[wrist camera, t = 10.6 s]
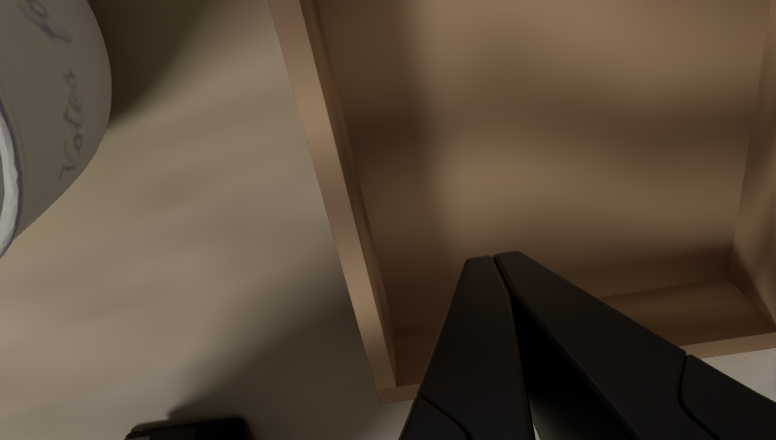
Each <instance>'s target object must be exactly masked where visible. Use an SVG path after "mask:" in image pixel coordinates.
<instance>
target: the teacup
mask: <svg viewBox="0 0 776 440" xmlns="http://www.w3.org/2000/svg"><path fill="white" fill-rule="evenodd" d="M111 97H112V77H111V69H110V63H109V57H108V53H107V50H106V46H105V42H104V39H103V36H102V33H101V30H100V27H99V25H98V23H97V20H96V18H95V15H94V13H93V11H92V9H91V7H90V5H89V3H88V1H87V0H0V258H1V257H2V256H3V255H4V254H5V252H6V251H7V249H8V248H9V246H10V245H11V243H12V241H13V240H14V239H15V238H16V237H17V236H18V235H19V234H21V233H22V232H23V231H24V230H25V229H26V228H27V227H28V226H30V225H31V224H32V223H33V222H34V221H35V220H36V219H37V218H38V217H39V216H40V215H41V214H42V213H43V212H45V211H46V210H47V209H48V208H49V207H50V206H51V205H52V204H53V203H54V202H55V201H56V200H57V199H58V198H59V197H60V196H61V195H62V194H63V193H64V192H65V191H66V190H67V189H68V187H69V186H70V185H71V184H72V183H73V182H74V181H75V180H76V179H77V178H78V177H79V175H80V174H81V173H82V172H83V171H84V169H85V168H86V166H87V165H88V164H89V162H90V161H91V159H92V158H93V156H94V155H95V153H96V151H97V149H98V147H99V145H100V142H101V140H102V138H103V135H104V133H105V130H106V127H107V124H108V120H109V115H110V110H111Z"/></svg>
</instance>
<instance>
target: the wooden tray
mask: <svg viewBox="0 0 776 440" xmlns="http://www.w3.org/2000/svg"><path fill="white" fill-rule="evenodd" d="M268 3H269V6H270V10H271V14H272V17H273V21H274V24H275V28H276V32H277V35H278V39H279V42H280V46H281V50H282V53H283V57H284V60H285V64H286V68H287V71H288V75H289V78H290V82H291V86H292V89H293V93H294V96H295V100H296V104H297V107H298V111H299V114H300V118H301V122H302V125H303V129H304V132H305V136H306V140H307V143H308V147H309V150H310V154H311V157H312V161H313V165H314V168H315V172H316V175H317V179H318V183H319V186H320V190H321V193H322V197H323V201H324V204H325V208H326V211H327V215H328V219H329V222H330V226H331V229H332V233H333V237H334V240H335V244H336V247H337V251H338V255H339V258H340V262H341V265H342V269H343V273H344V276H345V280H346V283H347V287H348V291H349V294H350V298H351V301H352V305H353V309H354V312H355V316H356V319H357V323H358V327H359V330H360V334H361V337H362V341H363V345H364V348H365V352H366V355H367V359H368V363H369V366H370V370H371V373H372V377H373V381H374V384H375V388H376V391H377V395H378V399H379V402H380V404H384V403H391V402H398V401H405V400H412V399H414V398H415V397H416V396H417V391H418V388H419V385H420V383H421V380H422V377H423V375H424V372H425V369H426V366H427V364H428V361H429V358H430V356H431V353H432V350H433V347H434V345H435V342H436V339H437V337H438V334H439V331H440V328H441V326H442V323H443V320H444V318H445V315H446V312H447V309H448V307H449V304H450V301H451V299H452V296H453V293H454V290H455V288H456V285H457V282H458V280H459V277H460V274H461V271H462V269H463V266H464V263H465V261H466V260H467V259H468V258H473V257H479V256H485V255H490V256H492V257H493V256H494V255H495V254H497V253H502V252H508V251H514V250H518V251H521V252H522V253H524V254H526V255H527V256H529V257H531V258H532V259H534V260H536V261H537V262H539V263H541V264H542V265H544V266H546V267H547V268H549V269H551V270H552V271H554V272H556V273H557V274H559V275H561V276H562V277H564V278H566V279H567V280H569V281H570V282H572V283H574V284H575V285H577V286H579V287H580V288H582V289H584V290H585V291H587V292H589V293H590V294H592V295H594V296H595V297H597V298H599V299H600V300H602V301H604V302H605V303H607V304H609V305H610V306H612V307H614V308H615V309H617V310H619V311H620V312H622V313H624V314H625V315H627V316H629V317H630V318H632V319H634V320H635V321H637V322H639V323H640V324H642V325H643V326H645V327H647V328H648V329H650V330H652V331H653V332H655V333H657V334H658V335H660V336H662V337H663V338H665V339H667V340H668V341H670V342H672V343H673V344H675V345H677V346H678V347H680V348H682V349H683V350H685V351H686V352H687V355H689V354H692V355H694V356H695V357H697V358H699V359H701V358H708V357H715V356H722V355H729V354H736V353H743V352H750V351H757V350H764V349H771V348H776V0H268Z"/></svg>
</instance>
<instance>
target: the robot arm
mask: <svg viewBox="0 0 776 440" xmlns="http://www.w3.org/2000/svg"><path fill="white" fill-rule="evenodd" d="M533 424H534V426H535V428H536V431H537V433H538V436H539V438H540V440H776V402H774V401H772V400H770V399H769V398H767V397H765V396H763V395H761V394H759V393H757V392H755V391H754V390H752V389H750V388H748V387H747V386H745V385H743V384H741V383H740V382H738V381H736V380H734V379H733V378H731V377H729V376H727V375H726V374H724V373H722V372H720V371H719V370H717V369H715V368H714V367H712V366H710V365H709V364H707V363H705V362H704V361H702V360H700V359H699V358H697V357H695V356H694V355H692V354H689V355H687V352H686V351H685V350H683V349H682V348H680V347H678V346H677V345H675V344H673V343H672V342H670V341H668V340H667V339H665V338H663V337H662V336H660V335H658V334H657V333H655V332H653V331H652V330H650V329H648V328H647V327H645V326H643V325H642V324H640V323H639V322H637V321H635V320H634V319H632V318H630V317H629V316H627V315H625V314H624V313H622V312H620V311H619V310H617V309H615V308H614V307H612V306H610V305H609V304H607V303H605V302H604V301H602V300H600V299H599V298H597V297H595V296H594V295H592V294H590V293H589V292H587V291H585V290H584V289H582V288H580V287H579V286H577V285H575V284H574V283H572V282H570V281H569V280H567V279H566V278H564V277H562V276H561V275H559V274H557V273H556V272H554V271H552V270H551V269H549V268H547V267H546V266H544V265H542V264H541V263H539V262H537V261H536V260H534V259H532V258H531V257H529V256H527V255H526V254H524V253H522V252H521V251H518V250H514V251H508V252H502V253H497V254H495V255H494V256H493V257H492V256H490V255H485V256H479V257H473V258H468V259H467V260H466V261H465V263H464V266H463V269H462V271H461V274H460V277H459V280H458V282H457V285H456V288H455V290H454V293H453V296H452V299H451V301H450V304H449V307H448V309H447V312H446V315H445V318H444V320H443V323H442V326H441V328H440V331H439V334H438V337H437V339H436V342H435V345H434V347H433V350H432V353H431V356H430V358H429V361H428V364H427V366H426V369H425V372H424V375H423V377H422V380H421V383H420V385H419V388H418V391H417V396H416V397H415V398H414V401H413V404H412V406H411V409H410V412H409V415H408V417H407V420H406V422H405V425H404V427H403V429H402V432H401V434H400V437H399V439H398V440H536V439H535V433H534V427H533ZM124 440H254V437H253V435H252V433H251V431H250V429H249V427H248V425H247V423H246V421H244V420H243V419H240V418H230V419H223V420H216V421H209V422H202V423H195V424H188V425H181V426H174V427H167V428H160V429H153V430H146V431H139V432H132V433H129V434H127V435H126V437H125V439H124Z"/></svg>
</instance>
